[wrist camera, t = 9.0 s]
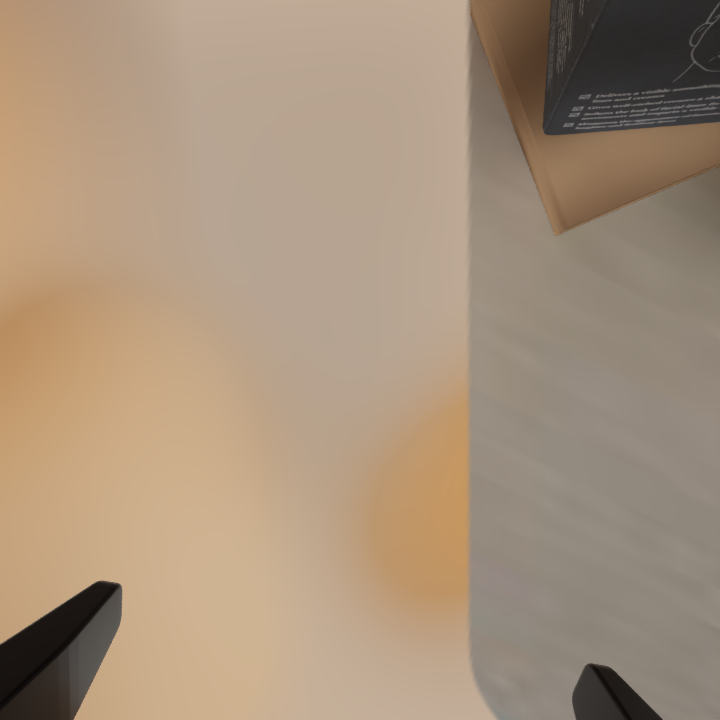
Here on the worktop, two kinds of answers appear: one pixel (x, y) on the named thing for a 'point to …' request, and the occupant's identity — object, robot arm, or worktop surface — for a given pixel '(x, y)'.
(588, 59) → the box
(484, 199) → the worktop surface
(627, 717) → the robot arm
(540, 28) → the walnut slab
